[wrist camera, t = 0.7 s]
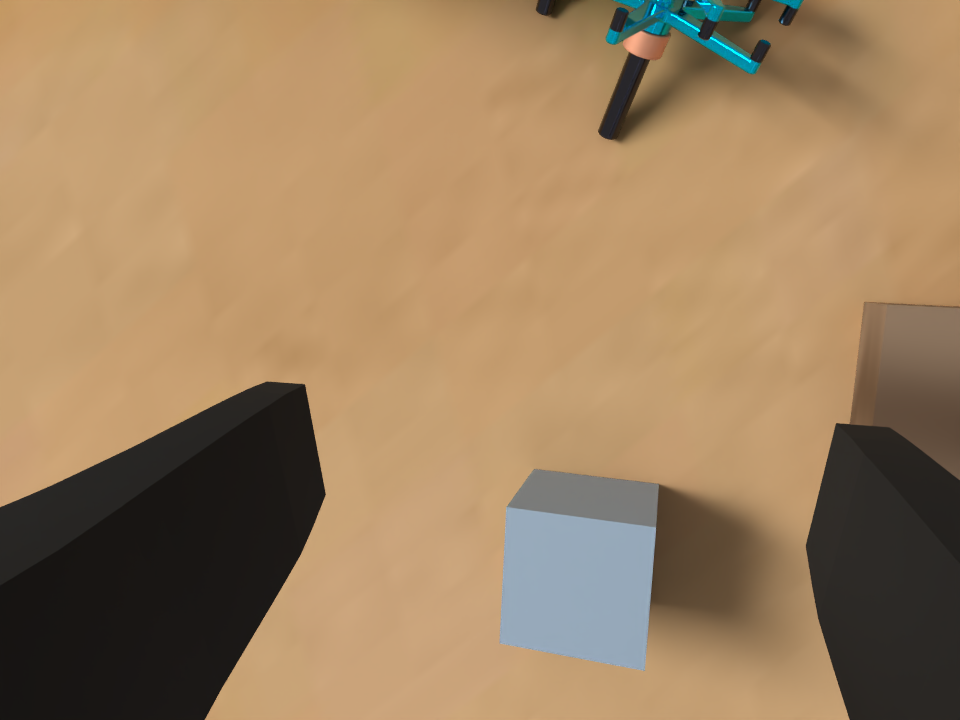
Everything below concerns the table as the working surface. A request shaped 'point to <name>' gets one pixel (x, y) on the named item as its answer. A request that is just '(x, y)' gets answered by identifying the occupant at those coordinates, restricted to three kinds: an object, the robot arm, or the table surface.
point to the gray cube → (580, 567)
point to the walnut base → (911, 376)
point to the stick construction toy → (648, 33)
